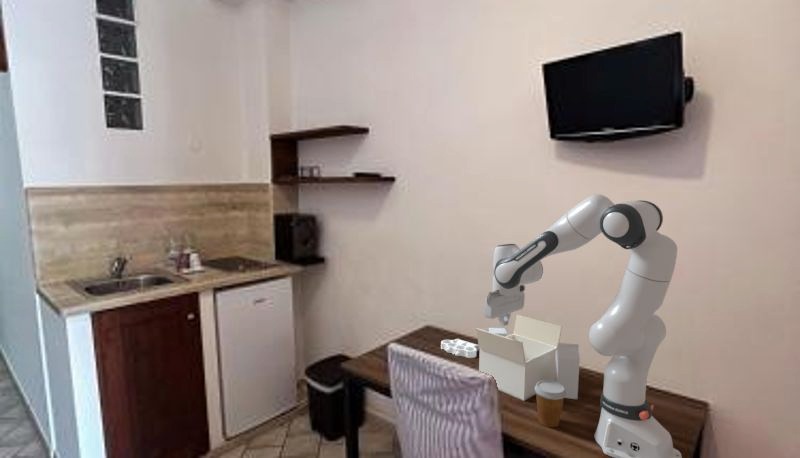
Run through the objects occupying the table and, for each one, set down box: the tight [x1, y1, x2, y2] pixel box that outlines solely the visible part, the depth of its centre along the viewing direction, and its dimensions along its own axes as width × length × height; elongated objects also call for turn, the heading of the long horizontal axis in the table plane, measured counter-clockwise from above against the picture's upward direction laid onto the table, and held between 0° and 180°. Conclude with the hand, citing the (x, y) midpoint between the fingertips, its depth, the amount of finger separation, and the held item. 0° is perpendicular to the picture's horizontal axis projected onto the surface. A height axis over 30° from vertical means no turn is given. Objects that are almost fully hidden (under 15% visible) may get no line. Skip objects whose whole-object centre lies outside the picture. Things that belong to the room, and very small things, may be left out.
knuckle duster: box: [440, 338, 480, 359], centre depth 203 cm, size 3×18×15 cm
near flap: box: [475, 327, 525, 363], centre depth 162 cm, size 20×8×1 cm
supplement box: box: [488, 327, 508, 337], centre depth 194 cm, size 7×7×13 cm
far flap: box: [512, 314, 563, 347], centre depth 178 cm, size 20×8×1 cm
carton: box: [478, 333, 557, 402], centre depth 171 cm, size 20×22×14 cm
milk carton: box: [554, 342, 581, 400], centre depth 162 cm, size 7×7×19 cm
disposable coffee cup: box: [535, 381, 566, 428], centre depth 143 cm, size 10×10×12 cm
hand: (503, 325), depth 163 cm, fingers closed
